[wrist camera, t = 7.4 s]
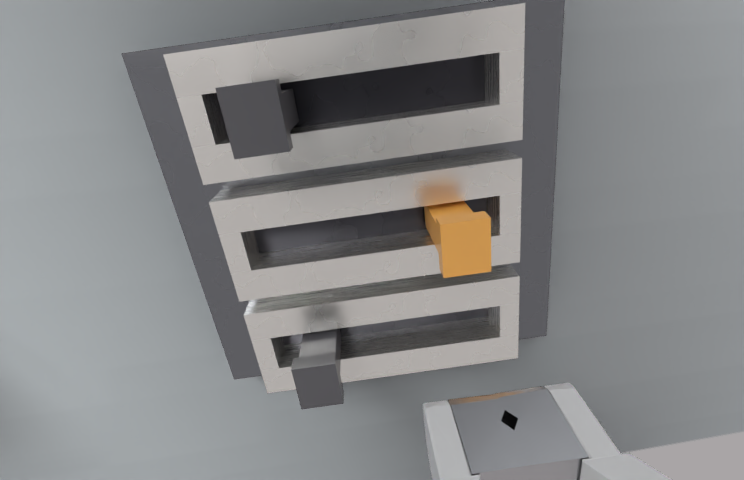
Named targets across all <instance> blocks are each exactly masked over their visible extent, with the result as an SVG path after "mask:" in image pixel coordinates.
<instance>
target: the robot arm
mask: <svg viewBox="0 0 744 480" xmlns="http://www.w3.org/2000/svg"><path fill="white" fill-rule="evenodd" d="M423 415H424V425H425V435H426V444H427V451H428V458H429V465H430V470H431V475H432V480H672V479H671V478H669V477H668V476H666V475H664V474H663V473H661V472H659V471H658V470H656V469H655V468H653V467H651V466H650V465H648V464H646V463H645V462H643V461H641V460H640V459H638V458H637V457H635V456H634V455H632V454H630V453H624V454H621V453H620V451H619V450H618V449H617V447H616V446H615V444H614V443H613V441H612V440H611V439H610V437H609V436H608V434H607V433H606V432H605V430H604V429H603V427H602V426H601V424H600V423H599V422H598V420H597V419H596V417H595V416H594V414H593V413H592V412H591V410H590V409H589V407H588V406H587V404H586V403H585V402H584V400H583V399H582V397H581V396H580V394H579V393H578V392H577V390H576V389H575V387H574V386H573V385H571V384H570V383H562V384H555V385H548V386H543V387H541V386H540V387H533V388H527V389H521V390H514V391H508V392H501V393H495V394H492V395H484V396H475V397H467V398H458V399H450V400H448V401H447V400H444V401H436V402H428V403H423Z"/></svg>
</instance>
